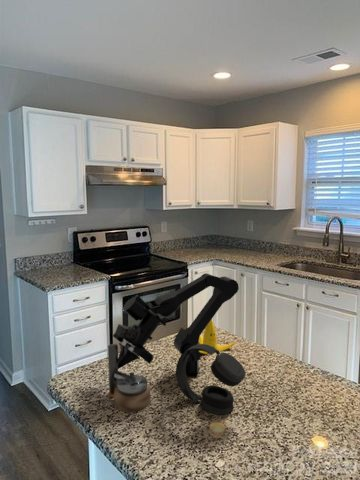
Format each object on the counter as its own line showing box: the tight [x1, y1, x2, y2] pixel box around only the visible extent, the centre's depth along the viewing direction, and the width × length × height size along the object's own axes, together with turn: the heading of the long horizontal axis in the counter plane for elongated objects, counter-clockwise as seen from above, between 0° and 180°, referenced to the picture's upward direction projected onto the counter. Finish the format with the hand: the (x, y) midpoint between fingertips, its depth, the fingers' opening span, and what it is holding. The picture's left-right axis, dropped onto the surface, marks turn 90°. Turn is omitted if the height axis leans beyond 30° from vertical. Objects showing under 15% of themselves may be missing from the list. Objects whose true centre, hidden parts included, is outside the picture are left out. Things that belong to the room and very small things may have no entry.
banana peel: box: [198, 318, 236, 355], centre depth 154 cm, size 16×19×17 cm
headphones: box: [175, 343, 246, 415], centre depth 110 cm, size 18×8×20 cm
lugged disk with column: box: [107, 343, 148, 396], centre depth 113 cm, size 14×9×15 cm, turn 55°
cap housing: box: [106, 383, 152, 413], centre depth 113 cm, size 15×11×4 cm
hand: (116, 368), depth 118 cm, fingers closed, pressing on lugged disk with column
